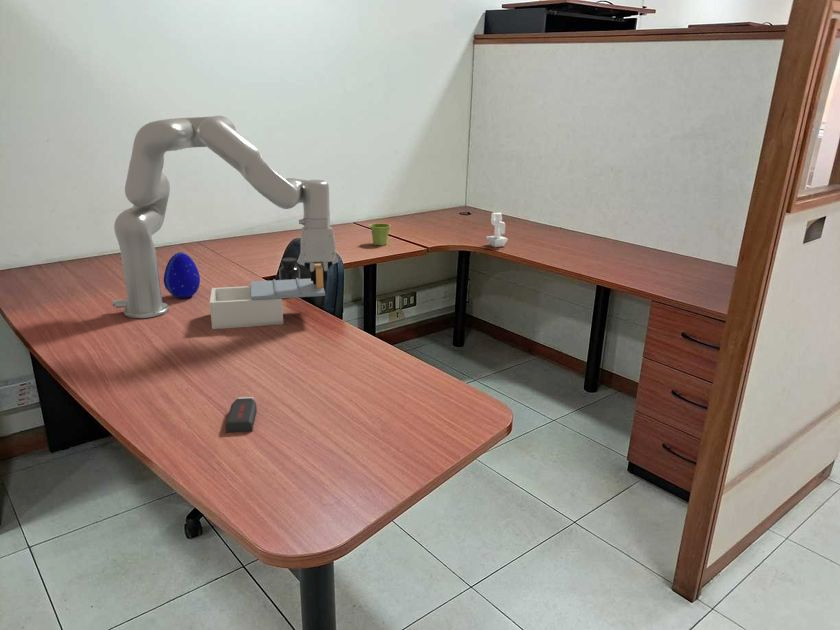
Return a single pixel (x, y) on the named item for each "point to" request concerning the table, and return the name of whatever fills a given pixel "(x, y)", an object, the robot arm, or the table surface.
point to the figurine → (497, 231)
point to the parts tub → (243, 309)
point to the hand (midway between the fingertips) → (318, 282)
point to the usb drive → (241, 415)
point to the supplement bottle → (289, 269)
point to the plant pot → (380, 233)
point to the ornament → (181, 276)
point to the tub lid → (289, 287)
